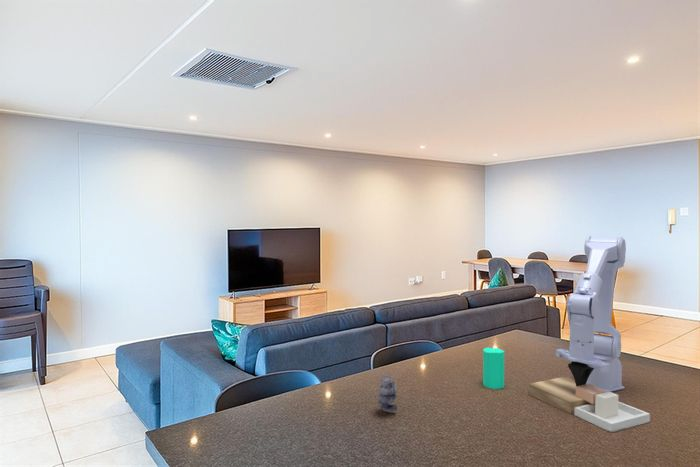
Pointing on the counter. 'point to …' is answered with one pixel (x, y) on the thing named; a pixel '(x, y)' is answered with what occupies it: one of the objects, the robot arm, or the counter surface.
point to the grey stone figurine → (387, 394)
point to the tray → (614, 417)
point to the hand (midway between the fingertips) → (580, 390)
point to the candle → (493, 368)
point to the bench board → (557, 393)
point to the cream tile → (606, 405)
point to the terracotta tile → (588, 392)
